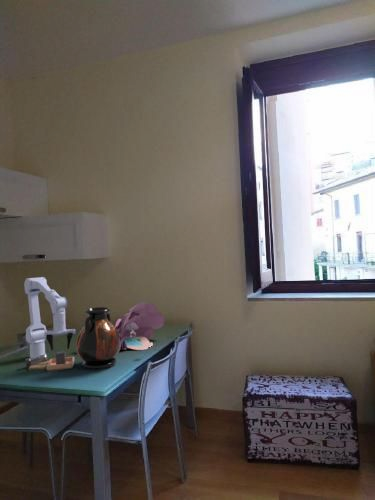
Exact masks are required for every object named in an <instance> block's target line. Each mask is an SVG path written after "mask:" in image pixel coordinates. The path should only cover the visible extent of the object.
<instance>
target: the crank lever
mask: <svg viewBox="0 0 375 500" xmlns="http://www.w3.org/2000/svg"><path fill="white" fill-rule="evenodd" d="M47 360H48V355H40V356H39V357H36V358H33V359H31V358H30V357H29V358H28V357H27V358H25V359H24V362H25V367H30V366H31V365H33V364H36V363H39V362H44V361H47Z"/></svg>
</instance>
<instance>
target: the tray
mask: <svg viewBox="0 0 375 500" xmlns="http://www.w3.org/2000/svg"><path fill="white" fill-rule="evenodd" d="M49 360H50V361H49V363H48V364H47V366H46V369H45V370H46V372H51V371H60V370H70V369H71V370H72V369H73V367H74V364H75V356H67V357H66V364H57V365H56V358H50V359H49Z"/></svg>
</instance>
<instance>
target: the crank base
mask: <svg viewBox="0 0 375 500" xmlns="http://www.w3.org/2000/svg"><path fill="white" fill-rule="evenodd" d="M49 361H50V359H47V361H44V362H39V363H36V364H33V365H31V366H28V368H27V371H29V372H30V371H39V370H47V369H46V366H47V364H48V363H49Z"/></svg>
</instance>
